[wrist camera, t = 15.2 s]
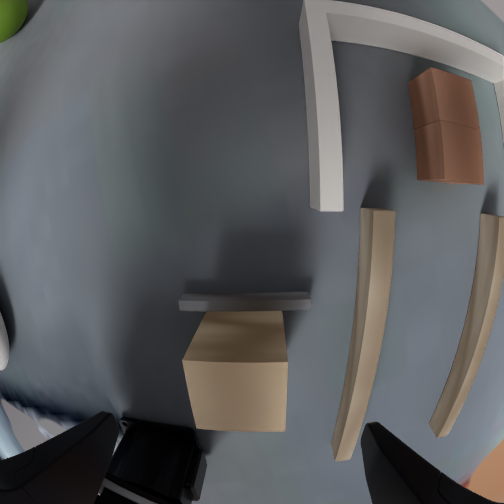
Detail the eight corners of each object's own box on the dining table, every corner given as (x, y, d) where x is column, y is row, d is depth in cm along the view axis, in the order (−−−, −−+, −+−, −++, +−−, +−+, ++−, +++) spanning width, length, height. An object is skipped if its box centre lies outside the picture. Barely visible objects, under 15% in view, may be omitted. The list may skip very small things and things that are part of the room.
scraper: (193, 360, 17) (165, 424, 11) (184, 292, 16) (144, 344, 10) (305, 360, 17) (318, 429, 11) (308, 291, 16) (329, 346, 10)
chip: (413, 129, 13) (439, 119, 10) (407, 83, 13) (430, 66, 10) (451, 136, 13) (479, 129, 10) (445, 92, 13) (471, 80, 10)
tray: (309, 207, 15) (320, 211, 12) (298, 25, 12) (303, -3, 9) (512, 216, 14) (539, 221, 11) (498, 75, 11) (521, 66, 8)
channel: (331, 443, 18) (335, 461, 16) (360, 207, 14) (373, 210, 12) (439, 420, 18) (447, 434, 16) (491, 214, 14) (509, 217, 12)
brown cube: (416, 179, 14) (444, 179, 11) (413, 129, 13) (440, 120, 10) (454, 183, 14) (483, 184, 11) (451, 136, 13) (480, 130, 10)
